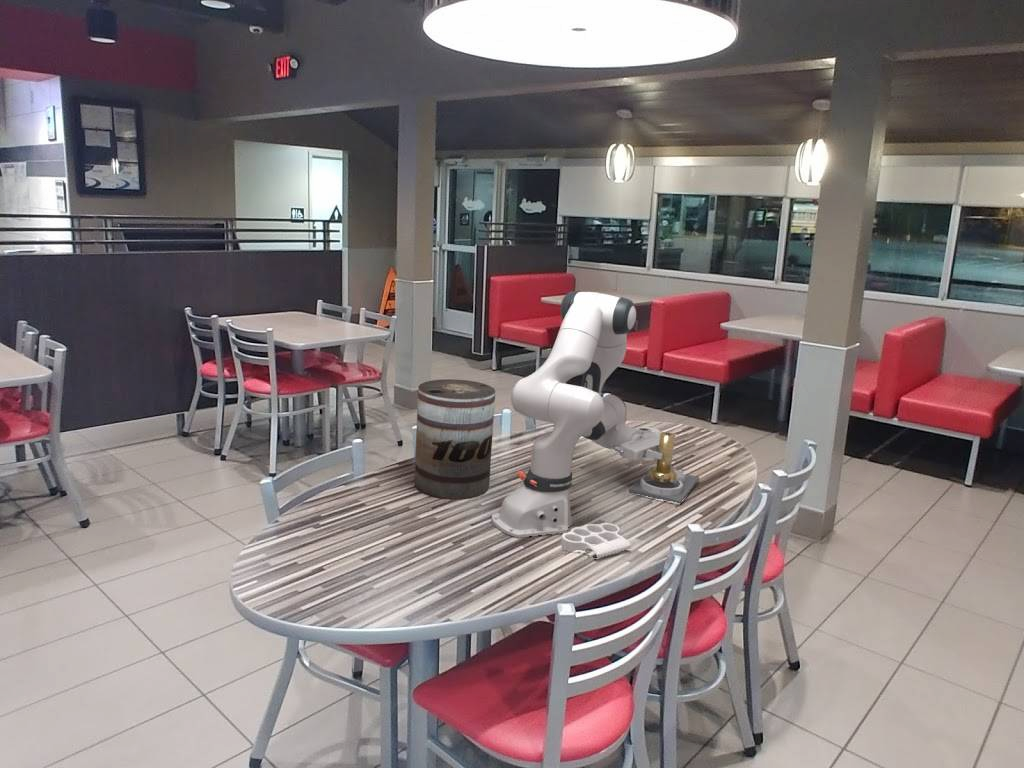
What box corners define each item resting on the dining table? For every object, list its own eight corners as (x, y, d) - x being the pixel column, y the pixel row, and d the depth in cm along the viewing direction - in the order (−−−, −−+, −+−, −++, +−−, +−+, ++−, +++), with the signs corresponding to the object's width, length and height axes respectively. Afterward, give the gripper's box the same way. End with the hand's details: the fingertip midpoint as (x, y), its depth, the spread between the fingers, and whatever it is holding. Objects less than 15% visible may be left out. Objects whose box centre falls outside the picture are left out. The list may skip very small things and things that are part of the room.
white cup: (631, 458, 263) (634, 430, 261) (638, 452, 270) (641, 425, 268) (653, 463, 260) (656, 435, 257) (659, 457, 267) (663, 430, 264)
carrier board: (679, 505, 225) (682, 488, 223) (628, 493, 231) (630, 476, 230) (698, 481, 246) (700, 465, 244) (651, 470, 252) (653, 455, 251)
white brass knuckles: (586, 566, 185) (549, 542, 196) (639, 550, 195) (600, 528, 206) (588, 553, 184) (550, 530, 195) (640, 538, 194) (602, 517, 206)
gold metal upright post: (661, 484, 228) (666, 439, 224) (642, 474, 235) (647, 431, 231) (682, 480, 232) (688, 436, 228) (663, 470, 239) (668, 428, 235)
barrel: (465, 506, 213) (471, 404, 206) (399, 487, 223) (402, 389, 215) (502, 482, 233) (508, 388, 225) (440, 466, 242) (444, 375, 235)
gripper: (612, 438, 232) (649, 451, 223) (650, 427, 246) (686, 438, 237) (609, 458, 234) (646, 471, 224) (648, 445, 248) (684, 457, 239)
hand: (667, 454), depth 231 cm, fingers closed on gold metal upright post, 4 cm apart
